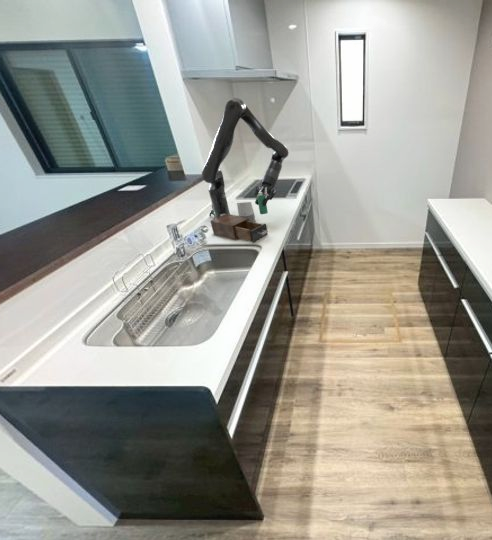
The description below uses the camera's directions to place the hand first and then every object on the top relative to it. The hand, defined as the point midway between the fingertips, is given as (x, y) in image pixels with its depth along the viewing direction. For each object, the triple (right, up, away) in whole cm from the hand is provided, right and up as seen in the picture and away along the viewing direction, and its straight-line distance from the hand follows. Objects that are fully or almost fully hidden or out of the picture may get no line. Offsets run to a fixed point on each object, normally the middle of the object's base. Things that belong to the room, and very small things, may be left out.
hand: (260, 204), depth 168 cm
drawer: (-4, -18, -1) cm, 19 cm away
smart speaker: (-13, -7, +21) cm, 26 cm away
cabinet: (-18, -16, +6) cm, 24 cm away
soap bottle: (+1, -4, +4) cm, 6 cm away
